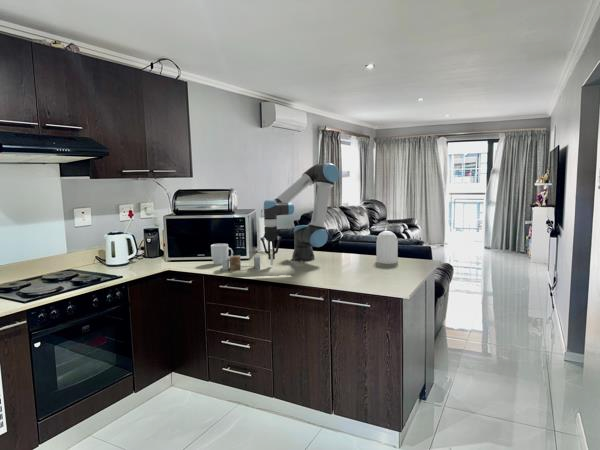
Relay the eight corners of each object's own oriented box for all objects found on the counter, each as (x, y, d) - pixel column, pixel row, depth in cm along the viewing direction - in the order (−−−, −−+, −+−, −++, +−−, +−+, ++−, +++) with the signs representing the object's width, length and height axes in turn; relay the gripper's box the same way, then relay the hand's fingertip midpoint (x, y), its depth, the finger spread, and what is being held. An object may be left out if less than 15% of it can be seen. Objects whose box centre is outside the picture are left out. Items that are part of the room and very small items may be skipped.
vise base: (261, 267, 256) (261, 265, 256) (262, 272, 245) (261, 269, 244) (220, 269, 254) (220, 267, 254) (219, 274, 242) (219, 271, 242)
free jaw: (260, 266, 254) (259, 255, 254) (260, 269, 246) (259, 257, 245) (254, 266, 254) (254, 255, 253) (254, 269, 246) (254, 257, 245)
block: (240, 268, 252) (240, 255, 251) (240, 270, 246) (239, 257, 245) (230, 268, 251) (230, 255, 250) (230, 270, 245) (229, 257, 245)
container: (372, 261, 269) (372, 230, 266) (387, 258, 276) (387, 228, 274) (386, 264, 257) (387, 232, 255) (402, 261, 265) (402, 230, 262)
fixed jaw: (229, 268, 252) (229, 256, 252) (228, 271, 244) (228, 259, 243) (223, 268, 252) (223, 257, 251) (222, 271, 244) (222, 259, 243)
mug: (228, 261, 278) (228, 242, 276) (237, 263, 270) (236, 244, 268) (208, 264, 269) (207, 244, 267) (216, 267, 260) (215, 246, 259)
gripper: (281, 225, 252) (282, 263, 255) (259, 225, 251) (260, 263, 254) (281, 226, 245) (282, 265, 248) (259, 227, 244) (261, 266, 246)
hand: (271, 264), depth 251 cm, fingers closed
